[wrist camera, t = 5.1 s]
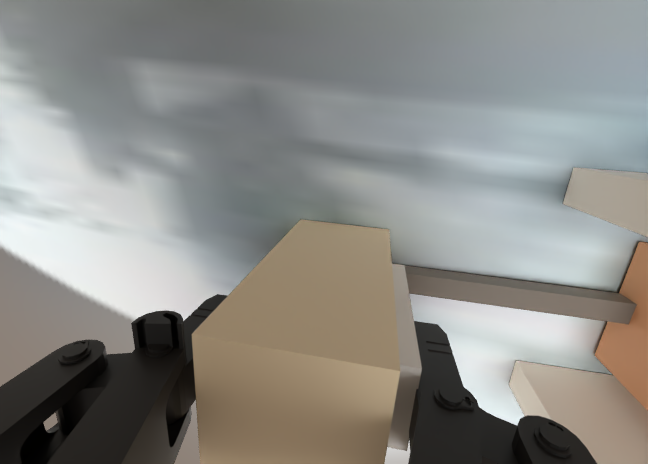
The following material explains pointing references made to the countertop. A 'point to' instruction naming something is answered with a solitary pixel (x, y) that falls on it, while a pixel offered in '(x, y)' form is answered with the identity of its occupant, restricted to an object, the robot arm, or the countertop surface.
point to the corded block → (357, 345)
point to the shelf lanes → (583, 386)
